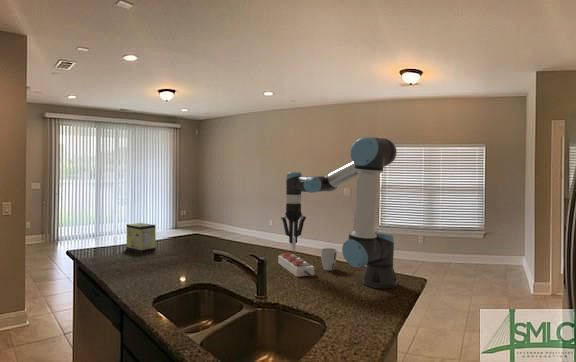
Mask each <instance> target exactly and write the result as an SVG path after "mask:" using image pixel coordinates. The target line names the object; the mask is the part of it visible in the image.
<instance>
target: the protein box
mask: <svg viewBox="0 0 576 362" xmlns="http://www.w3.org/2000/svg"><path fill="white" fill-rule="evenodd" d="M156 240H157V239H156V224H151V223H144V222H138V223H137V222H136V223H128V224H126V250H128V251H133V252H135V253H145V252H151V251H155V250H156V248H157V247H156V246H157V245H156V243H157V242H156Z"/></svg>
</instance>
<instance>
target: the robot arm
mask: <svg viewBox="0 0 576 362" xmlns="http://www.w3.org/2000/svg"><path fill="white" fill-rule="evenodd" d="M397 152H398V151H397V147H396V144H395V143H394V142H392V140H390V139H388V138H383V137H382V138H379V137H372V136H367V137H366V136H364V137H360V138H357V140H355V141H354V142H353V144H352V145H351V147H350V152H349V154H350V159H351V162H349V163H347V164H345V165H343V166H341V167H339V168H337V169H335V170H334V171H331V172H330V173H328V174H326V175H323V176H322V175H321V176H303V175H302V172H299V171H293V172H292V171H289V172H287V173H286V178H285V179H286V180H285V183H286V186H285V187H286V193H285V194H286V196H285V197H286V199H285V200H286V205H285V215H283V216H281V217H280V219H281V221H282V225H283V228H284V233H285V236H287V237H288V238H289V240H288V243H290V250H291V251H296V244H297V243H298V237H299V236H301V235H302V232H303V227H304V223H305V220H306V219H307V217H306V216H304V215H303V213H302V192H303V193H309V194H310V193H311V194H312V193H318V192H319V193H320V192H334V191H335V190H337V188H338V187H339V186H341V185H344V184H345V183H348V182H350V181H352V180H353V179H356V189H355V190H356V193H355V203H354V212H353V213H354V214H353V216H354V217H353V226H352V230H350V231H349V232H348V240H346V241H344V243H343V245H342V247H341V250H342V251H341V252H342V255H343V258H344V260H346V261H345V262H346V263H347V264H348V265H350V266H351V267H355V268H361V267H365V269H364V272H363V276H362V279H361V280H362V282H361V283H362V285H364V286H366V287H369V288H374V289H384V290H385V289H393V288H396V287H397V286H398V279H397V276H396V272H395V269H394V255H395V254H394V251H395V249H394V248H395V240H394V239H395V237H394V235H393V234H390V233H385V232H378V231H377V232H376V231H375V221H376V220H375V219H376V210H377V209H376V208H377V199H378V198H377V197H378V190H379V189H378V186H379V179H380V178H379V177H380V176H379V175H380V174H382V173H383V172H384V167H386V166H389V165H390V164H392V163H393V162H394V161H395V160H396V157H397ZM287 220H288V221H287Z"/></svg>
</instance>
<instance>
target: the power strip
mask: <svg viewBox="0 0 576 362" xmlns="http://www.w3.org/2000/svg"><path fill="white" fill-rule="evenodd" d="M277 257H278V258H277V259H278V261H277V262H278V264H279V265H281V266H282V267H283V268H284V269H285V270H287V271H289V272H290V273H291V274H292V275H294V276H295V277H307V276H308V277H311V276H315V266H313V265H312V264H311V263H308V262H307V261H305V260H304V259H302V258H301V257H299V256H297V255H295V254H291V256H281V254H280V255H278V256H277ZM287 257H297V260H287ZM292 261H303V264H293V262H292Z"/></svg>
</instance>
